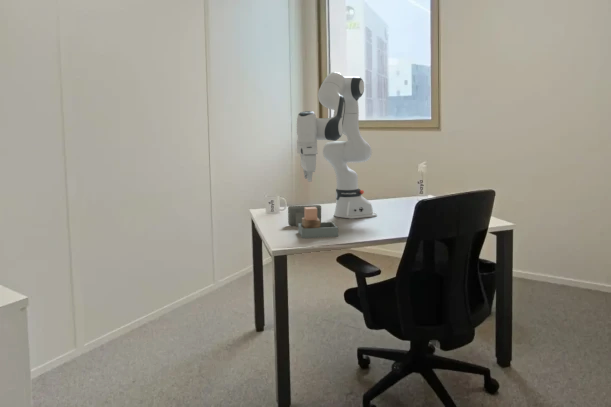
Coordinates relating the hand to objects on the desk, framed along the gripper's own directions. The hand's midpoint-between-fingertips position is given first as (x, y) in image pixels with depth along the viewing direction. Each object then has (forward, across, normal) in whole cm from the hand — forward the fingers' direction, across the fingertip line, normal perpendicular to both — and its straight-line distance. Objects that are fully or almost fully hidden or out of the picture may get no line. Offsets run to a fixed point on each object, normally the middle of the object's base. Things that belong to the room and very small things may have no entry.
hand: (308, 179), depth 253 cm
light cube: (+17, +4, 0) cm, 17 cm away
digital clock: (+26, -18, +1) cm, 32 cm away
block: (+24, +4, 0) cm, 24 cm away
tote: (+25, +4, +3) cm, 26 cm away
